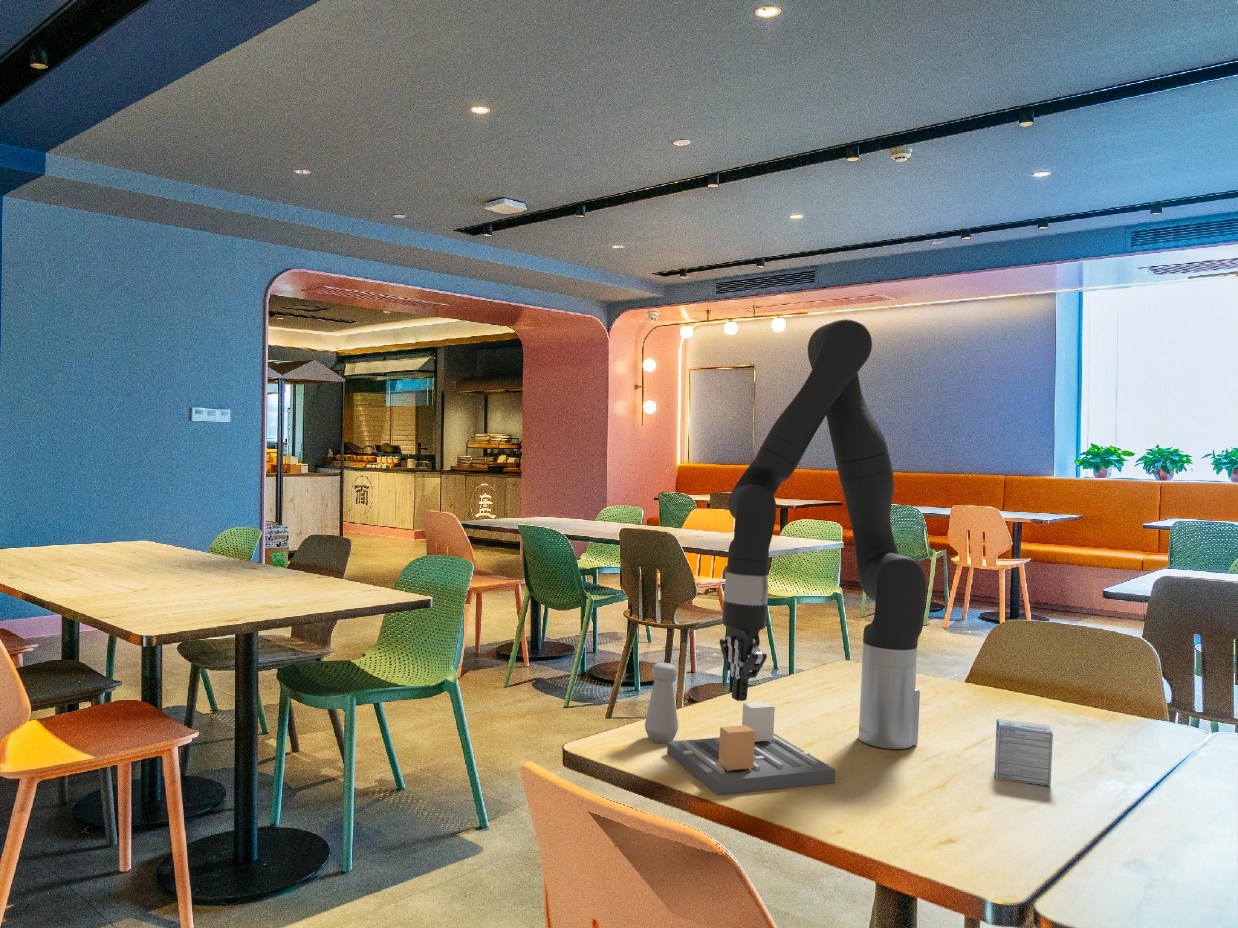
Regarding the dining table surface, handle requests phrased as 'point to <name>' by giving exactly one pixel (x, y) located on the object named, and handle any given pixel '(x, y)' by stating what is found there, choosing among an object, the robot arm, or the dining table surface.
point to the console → (770, 769)
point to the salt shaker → (662, 705)
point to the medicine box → (1023, 752)
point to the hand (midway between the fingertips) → (739, 699)
